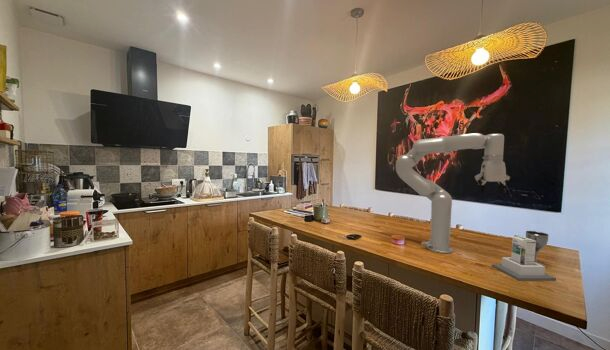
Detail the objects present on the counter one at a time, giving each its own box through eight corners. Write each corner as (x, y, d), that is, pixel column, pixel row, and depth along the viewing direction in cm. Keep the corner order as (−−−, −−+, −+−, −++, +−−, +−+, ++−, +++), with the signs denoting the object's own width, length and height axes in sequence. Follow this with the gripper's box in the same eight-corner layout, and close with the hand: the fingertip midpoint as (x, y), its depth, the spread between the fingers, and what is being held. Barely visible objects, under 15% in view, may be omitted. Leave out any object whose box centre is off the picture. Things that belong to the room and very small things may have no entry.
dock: (518, 280, 102) (519, 268, 101) (491, 266, 116) (492, 255, 115) (555, 280, 102) (556, 268, 102) (524, 266, 116) (525, 255, 116)
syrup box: (509, 267, 112) (511, 236, 111) (522, 267, 112) (524, 236, 111) (521, 273, 106) (523, 240, 105) (534, 273, 106) (536, 240, 106)
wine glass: (548, 268, 114) (550, 236, 113) (525, 264, 118) (528, 233, 118) (543, 262, 121) (545, 232, 120) (522, 259, 125) (524, 229, 124)
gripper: (482, 158, 119) (480, 193, 120) (516, 159, 120) (514, 194, 121) (471, 158, 127) (469, 191, 128) (503, 159, 127) (501, 192, 128)
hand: (491, 192), depth 124 cm, fingers open, 9 cm apart
